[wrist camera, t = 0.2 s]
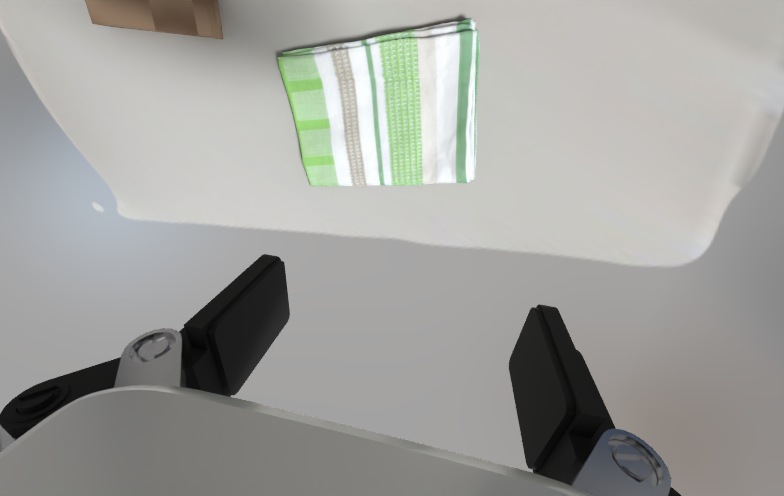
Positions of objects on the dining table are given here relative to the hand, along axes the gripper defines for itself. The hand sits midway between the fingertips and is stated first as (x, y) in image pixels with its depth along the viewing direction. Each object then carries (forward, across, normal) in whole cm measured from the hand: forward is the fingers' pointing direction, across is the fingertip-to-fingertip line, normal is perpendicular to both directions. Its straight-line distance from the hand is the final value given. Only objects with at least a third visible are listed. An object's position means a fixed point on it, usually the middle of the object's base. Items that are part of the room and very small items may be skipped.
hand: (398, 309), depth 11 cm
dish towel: (+32, +8, -3) cm, 33 cm away
